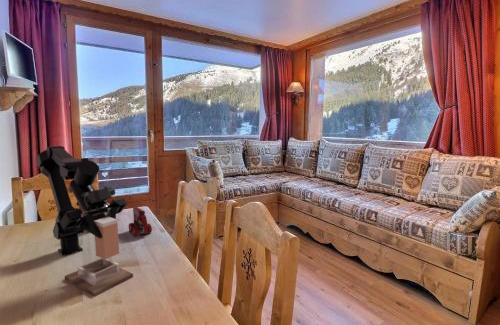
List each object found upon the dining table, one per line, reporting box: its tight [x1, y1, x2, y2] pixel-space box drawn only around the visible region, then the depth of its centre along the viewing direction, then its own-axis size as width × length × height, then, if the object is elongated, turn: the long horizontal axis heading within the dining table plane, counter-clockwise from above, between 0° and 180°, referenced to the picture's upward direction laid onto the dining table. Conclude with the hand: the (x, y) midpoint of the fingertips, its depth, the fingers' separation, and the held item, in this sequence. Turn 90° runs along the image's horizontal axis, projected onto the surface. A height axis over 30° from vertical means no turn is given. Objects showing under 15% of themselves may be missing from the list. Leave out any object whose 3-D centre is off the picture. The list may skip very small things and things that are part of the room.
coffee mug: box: [93, 202, 110, 221], centre depth 131 cm, size 12×9×10 cm
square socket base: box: [64, 257, 134, 297], centre depth 89 cm, size 16×12×4 cm
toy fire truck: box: [127, 206, 153, 237], centre depth 124 cm, size 7×12×10 cm, turn 40°
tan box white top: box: [94, 217, 120, 259], centre depth 89 cm, size 5×5×11 cm
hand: (109, 235), depth 88 cm, fingers closed on tan box white top, 5 cm apart
